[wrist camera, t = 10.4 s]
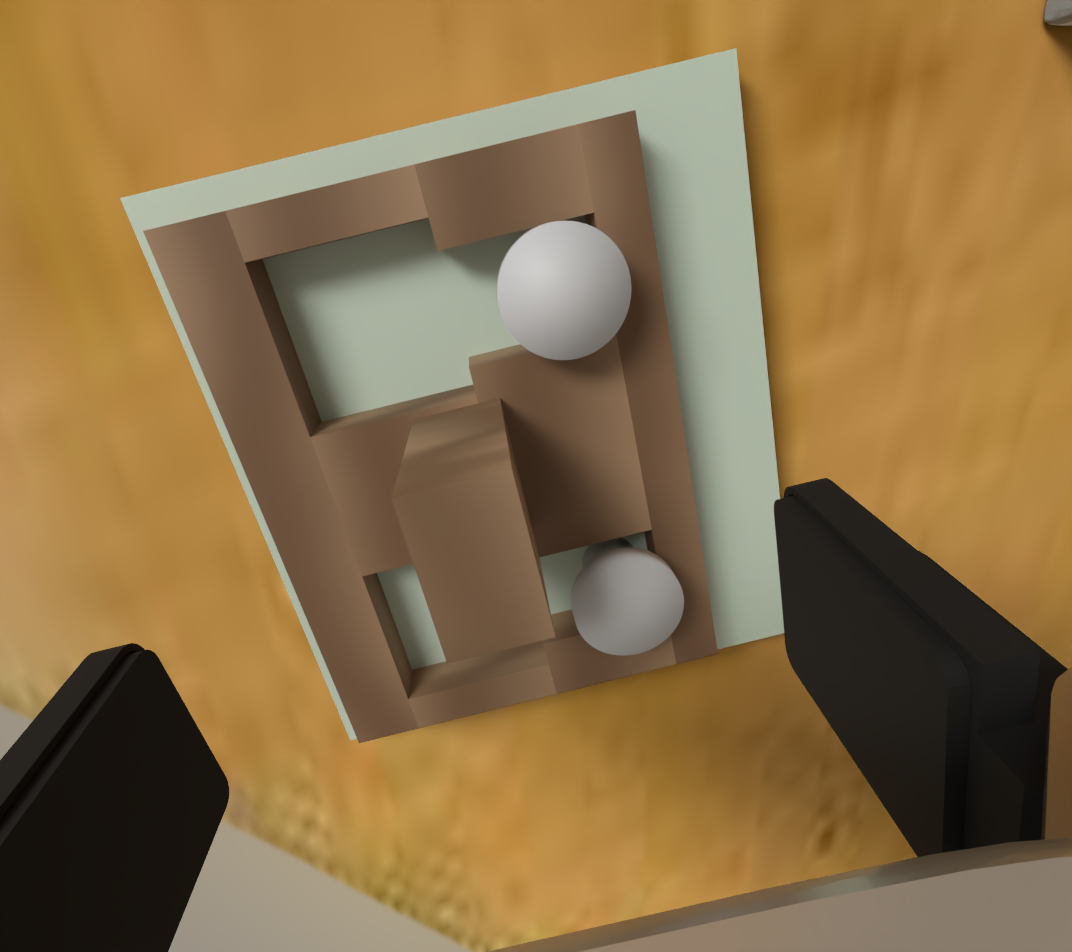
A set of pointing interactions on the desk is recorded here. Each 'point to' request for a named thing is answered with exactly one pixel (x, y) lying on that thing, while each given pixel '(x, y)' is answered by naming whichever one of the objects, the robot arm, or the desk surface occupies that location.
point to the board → (456, 315)
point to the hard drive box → (1058, 12)
